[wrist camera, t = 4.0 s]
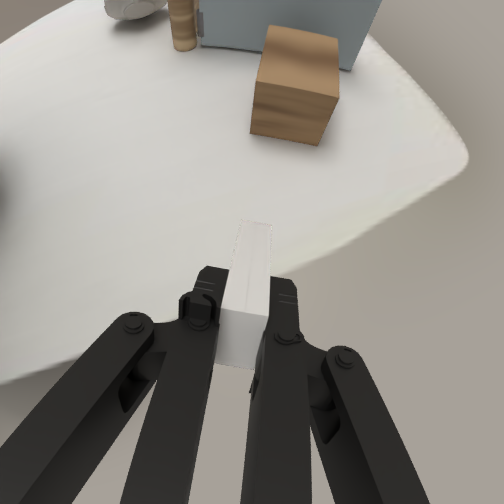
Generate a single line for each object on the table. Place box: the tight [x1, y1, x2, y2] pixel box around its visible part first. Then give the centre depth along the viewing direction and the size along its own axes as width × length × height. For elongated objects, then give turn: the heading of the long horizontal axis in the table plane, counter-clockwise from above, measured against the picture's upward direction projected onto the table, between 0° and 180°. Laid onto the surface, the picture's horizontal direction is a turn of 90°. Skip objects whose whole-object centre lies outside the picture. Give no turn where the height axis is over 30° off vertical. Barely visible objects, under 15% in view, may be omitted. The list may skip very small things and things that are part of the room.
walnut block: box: [250, 25, 339, 146], centre depth 28 cm, size 9×7×8 cm
